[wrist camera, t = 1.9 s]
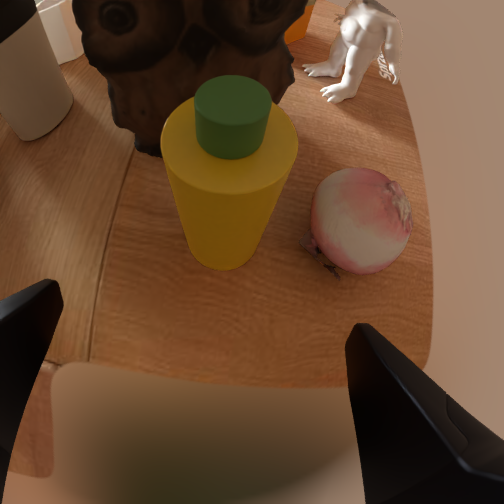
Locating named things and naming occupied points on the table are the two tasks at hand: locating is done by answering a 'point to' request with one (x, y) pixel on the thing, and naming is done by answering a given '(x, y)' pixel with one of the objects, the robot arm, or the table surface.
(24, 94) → the travel mug
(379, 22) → the toy creature
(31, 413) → the table surface
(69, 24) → the mug
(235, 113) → the lemon juice bottle
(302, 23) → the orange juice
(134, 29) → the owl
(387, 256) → the onion
